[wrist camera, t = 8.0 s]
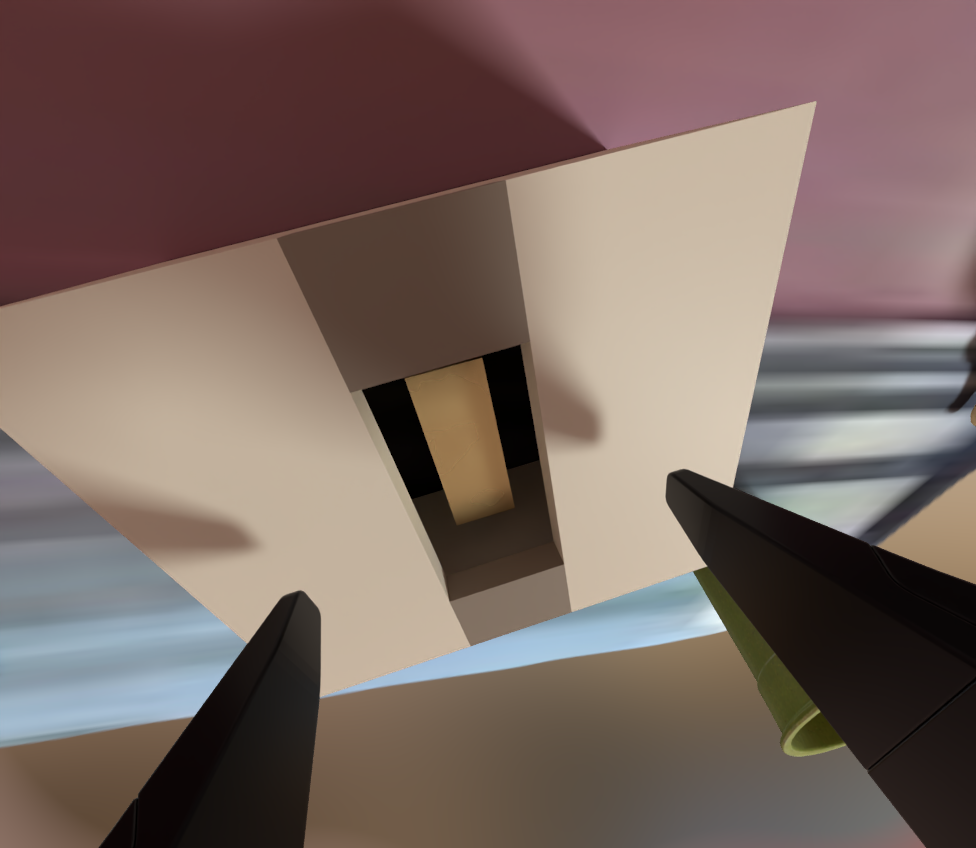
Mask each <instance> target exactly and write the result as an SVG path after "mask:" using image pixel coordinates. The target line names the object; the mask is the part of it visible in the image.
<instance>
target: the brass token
mask: <svg viewBox="0 0 976 848" xmlns="http://www.w3.org/2000/svg"><path fill="white" fill-rule="evenodd" d="M405 381H406V384H407V387H408V389H409V392H410V395H411V398H412V401H413V404H414V406H415V409H416V412H417V415H418V418H419V421H420V423H421V426H422V429H423V432H424V435H425V437H426V440H427V443H428V446H429V449H430V452H431V454H432V457H433V460H434V463H435V466H436V468H437V471H438V474H439V477H440V480H441V483H442V485H443V488H444V491H445V494H446V497H447V499H448V502H449V505H450V508H451V511H452V514H453V516H454V519H455V522H456V525H461V524H464V523H467V522H470V521H474V520H477V519H480V518H484V517H487V516H490V515H494V514H497V513H500V512H503V511H507V510H510V509H513V508H515V506H514V501H513V497H512V492H511V488H510V483H509V478H508V474H507V469H506V465H505V460H504V456H503V451H502V446H501V442H500V437H499V433H498V428H497V423H496V419H495V414H494V410H493V405H492V400H491V396H490V391H489V387H488V382H487V378H486V373H485V368H484V364H483V359H482V356H478V357H475V358H471V359H468V360H464V361H461V362H457V363H454V364H450V365H447V366H443V367H440V368H436V369H433V370H429V371H426V372H422V373H419V374H415V375H412V376H408V377H405Z"/></svg>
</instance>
